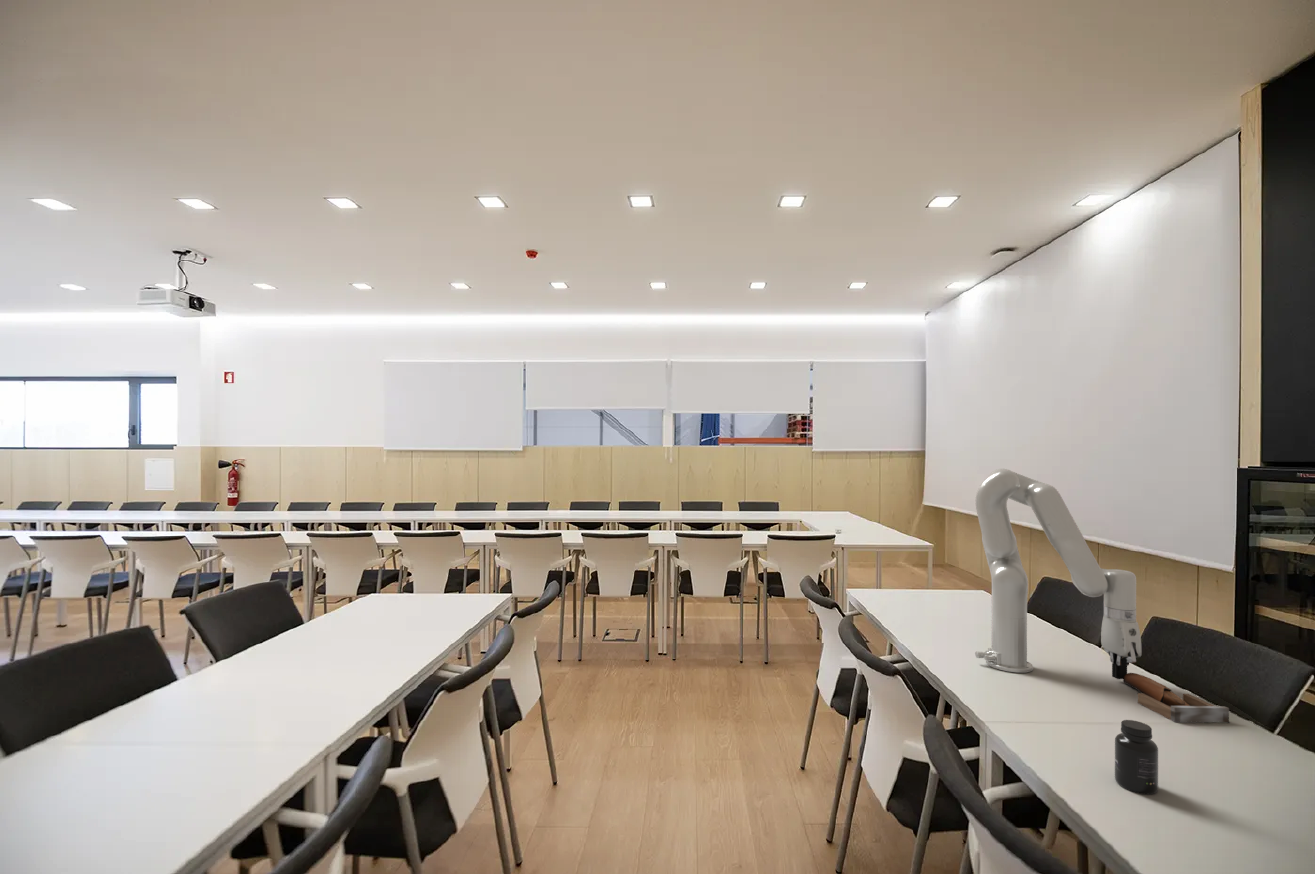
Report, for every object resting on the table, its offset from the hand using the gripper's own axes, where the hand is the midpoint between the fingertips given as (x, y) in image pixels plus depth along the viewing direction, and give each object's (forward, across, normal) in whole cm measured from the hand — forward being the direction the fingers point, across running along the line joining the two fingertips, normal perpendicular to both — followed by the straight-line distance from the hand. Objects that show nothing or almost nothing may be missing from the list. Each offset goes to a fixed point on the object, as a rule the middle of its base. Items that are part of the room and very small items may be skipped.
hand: (1119, 677), depth 181 cm
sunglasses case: (+2, -11, -2) cm, 11 cm away
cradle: (+1, -21, 0) cm, 21 cm away
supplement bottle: (+1, -56, +40) cm, 69 cm away
